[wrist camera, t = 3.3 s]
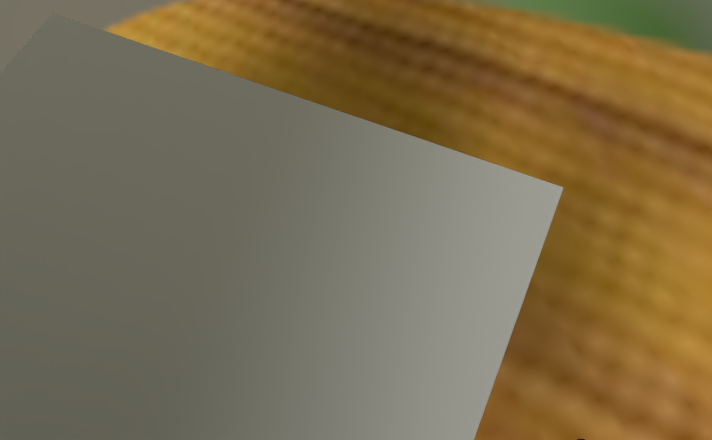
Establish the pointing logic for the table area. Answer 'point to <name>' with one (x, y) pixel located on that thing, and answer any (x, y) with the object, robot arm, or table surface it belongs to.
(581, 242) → the table surface
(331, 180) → the plug
